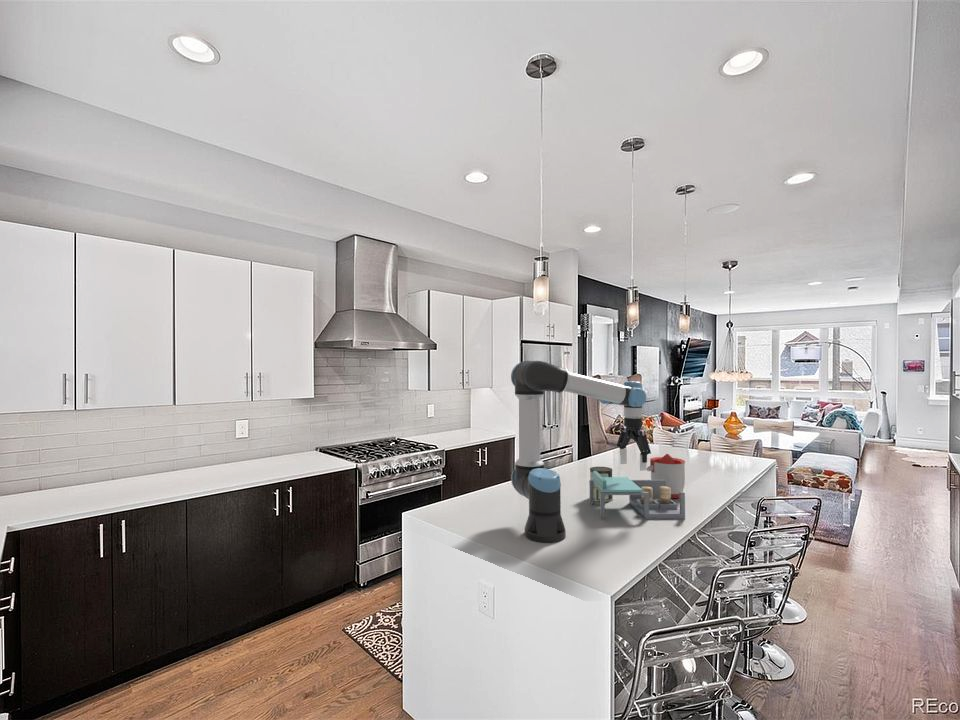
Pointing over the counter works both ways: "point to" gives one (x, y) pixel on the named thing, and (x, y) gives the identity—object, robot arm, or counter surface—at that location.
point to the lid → (615, 484)
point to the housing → (645, 501)
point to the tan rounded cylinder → (650, 491)
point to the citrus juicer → (669, 473)
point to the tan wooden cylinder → (665, 495)
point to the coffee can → (604, 473)
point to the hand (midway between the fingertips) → (633, 466)
